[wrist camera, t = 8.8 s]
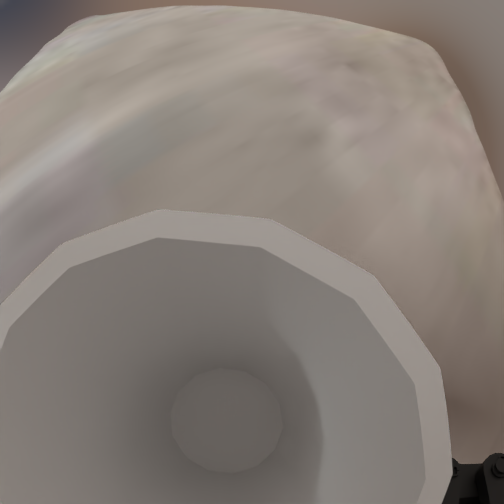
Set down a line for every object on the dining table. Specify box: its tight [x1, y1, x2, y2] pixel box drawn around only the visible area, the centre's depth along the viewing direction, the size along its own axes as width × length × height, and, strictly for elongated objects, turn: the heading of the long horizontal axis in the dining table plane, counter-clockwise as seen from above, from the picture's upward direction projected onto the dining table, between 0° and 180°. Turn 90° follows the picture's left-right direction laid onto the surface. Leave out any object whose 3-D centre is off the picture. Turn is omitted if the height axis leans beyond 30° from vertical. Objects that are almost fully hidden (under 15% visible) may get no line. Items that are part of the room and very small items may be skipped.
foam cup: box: [0, 209, 453, 504], centre depth 10 cm, size 10×9×13 cm
